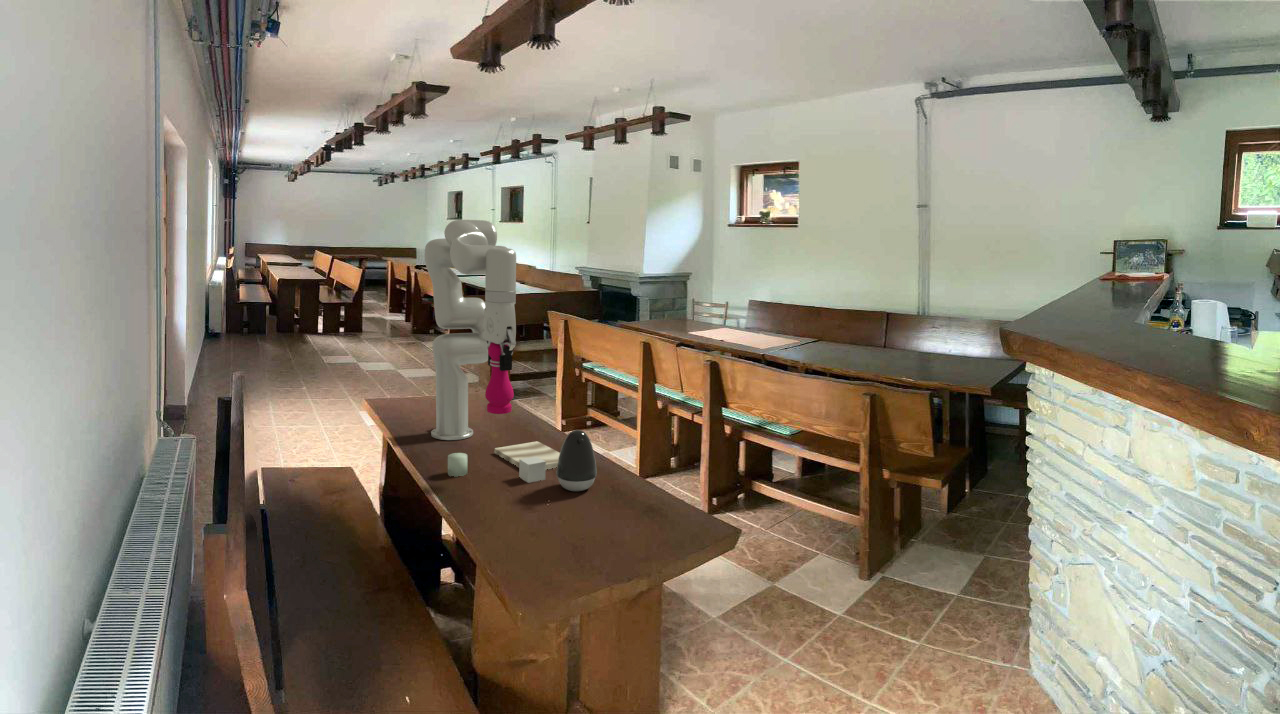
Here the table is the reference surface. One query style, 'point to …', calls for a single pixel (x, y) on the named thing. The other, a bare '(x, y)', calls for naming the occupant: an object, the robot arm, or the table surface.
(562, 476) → the dark grey egg shape
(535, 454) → the ash board
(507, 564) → the table surface
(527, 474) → the grey block
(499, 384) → the pepper mill
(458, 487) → the table surface
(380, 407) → the table surface
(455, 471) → the sage cylinder
